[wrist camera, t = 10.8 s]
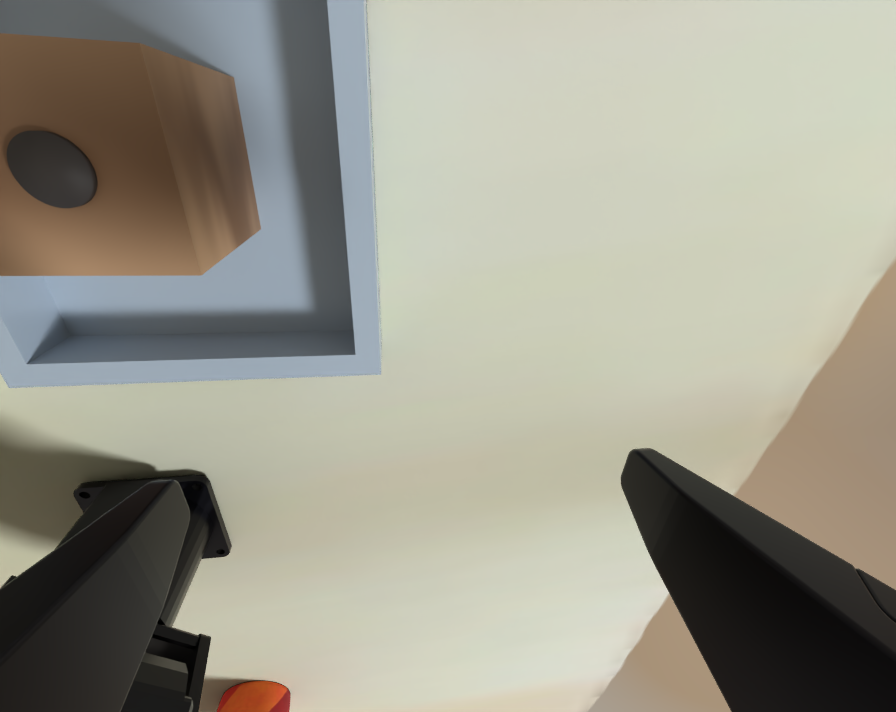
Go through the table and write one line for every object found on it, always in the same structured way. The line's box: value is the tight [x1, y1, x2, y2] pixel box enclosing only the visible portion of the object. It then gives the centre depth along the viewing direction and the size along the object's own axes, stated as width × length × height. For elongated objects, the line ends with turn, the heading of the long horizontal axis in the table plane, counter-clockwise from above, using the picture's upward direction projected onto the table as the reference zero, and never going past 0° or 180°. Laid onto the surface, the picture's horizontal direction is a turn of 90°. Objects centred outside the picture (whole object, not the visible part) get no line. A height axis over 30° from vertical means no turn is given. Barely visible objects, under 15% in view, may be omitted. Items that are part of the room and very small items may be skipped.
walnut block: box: [0, 33, 261, 276], centre depth 12 cm, size 5×5×6 cm
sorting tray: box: [0, 0, 382, 388], centre depth 14 cm, size 16×14×3 cm
